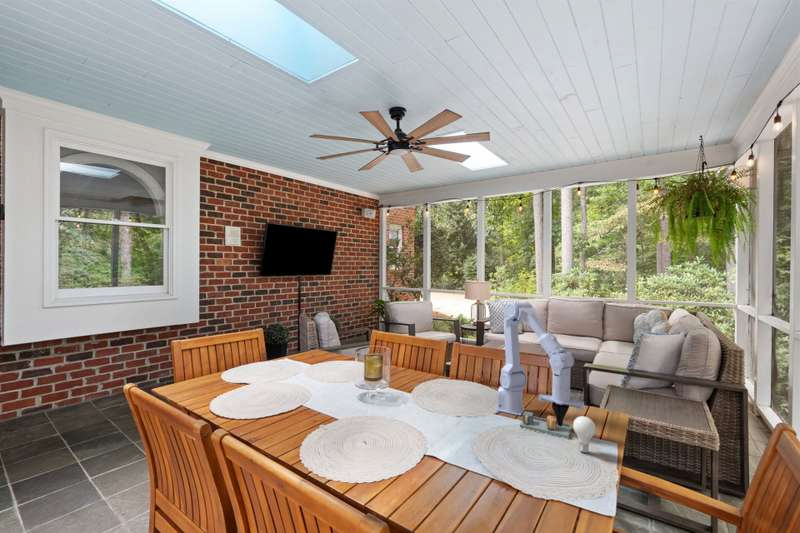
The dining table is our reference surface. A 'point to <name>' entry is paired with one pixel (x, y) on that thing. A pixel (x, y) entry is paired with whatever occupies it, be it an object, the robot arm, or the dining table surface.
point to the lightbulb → (584, 431)
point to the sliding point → (551, 422)
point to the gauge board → (544, 425)
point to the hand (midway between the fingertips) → (560, 425)
